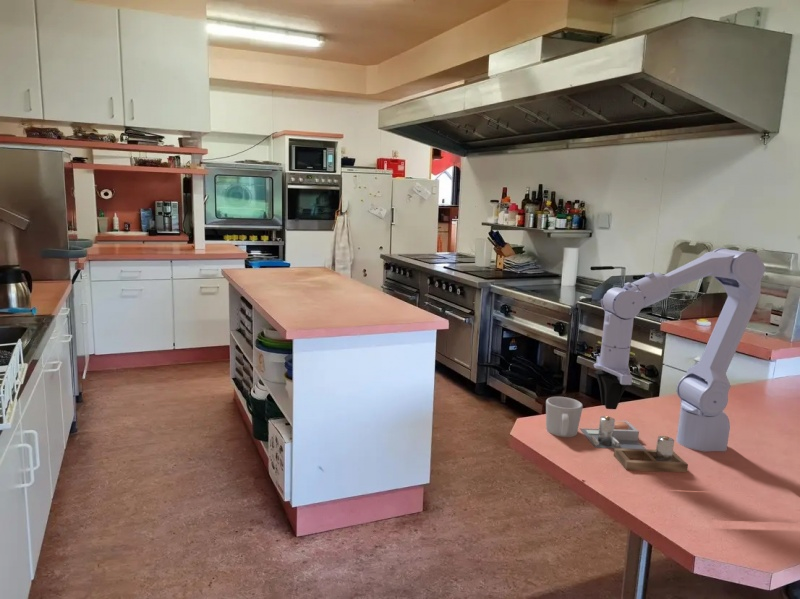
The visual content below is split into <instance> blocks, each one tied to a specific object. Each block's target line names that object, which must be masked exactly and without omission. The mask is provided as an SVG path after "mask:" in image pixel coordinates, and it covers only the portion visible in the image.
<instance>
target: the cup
mask: <svg viewBox="0 0 800 599" xmlns="http://www.w3.org/2000/svg"><path fill="white" fill-rule="evenodd" d="M583 409H584V406H583V403H582V402H580V401H579V400H577V399H574V398H571V397H566V396H565V397H564V396H551V397H548V398H547V399H546V400H545V421H546V422H545V424H546V425H545V427H546V428H545V429H546V431H547V432H548V433H549V434H551V435H554V436H556V437H557V436H558V437H562V438H572V437H575V436H577V435H578V430H579V427H580V421H581V418H582V417H581V416H582V412H583Z"/></svg>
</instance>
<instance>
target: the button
mask: <svg viewBox="0 0 800 599" xmlns="http://www.w3.org/2000/svg"><path fill="white" fill-rule="evenodd" d="M621 421H622V420H615V424H614V429H621V430H628V429H629V425H628V424H627V423H625V422H621Z"/></svg>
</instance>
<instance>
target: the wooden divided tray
mask: <svg viewBox="0 0 800 599" xmlns="http://www.w3.org/2000/svg"><path fill="white" fill-rule="evenodd" d="M613 450H614V451H613V457H614V458H615V459H616V461H617V462H619V464H620V465H621V466H622V467H623V468H624V470H626V471H641V472H671V473H688V469H689V468H688V467H689V464H688V463H687V462H686V461H685V460H684V459H682V458H681V457H680V456H679V455H678V454H677V453H676V452H675V451H673V454H672V461H671V462H668V461H657V460H656V459H655V455H656V449H647V448H646V449H622V448H614V449H613ZM638 459H639V460H638Z"/></svg>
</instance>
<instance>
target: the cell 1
mask: <svg viewBox="0 0 800 599" xmlns="http://www.w3.org/2000/svg"><path fill="white" fill-rule="evenodd" d="M615 421H616V420H615V418H613V417H611V416H608V415H606V416H605V415H602V416H600V417H599V424H598V429H599V432H598V441H599V444H601V445H605V446H611V445H612V441H613V432H614V424H615Z"/></svg>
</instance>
